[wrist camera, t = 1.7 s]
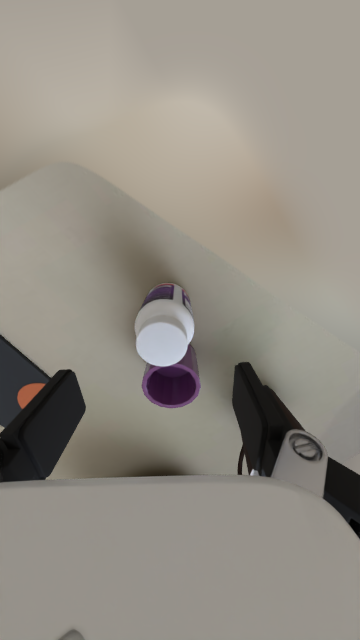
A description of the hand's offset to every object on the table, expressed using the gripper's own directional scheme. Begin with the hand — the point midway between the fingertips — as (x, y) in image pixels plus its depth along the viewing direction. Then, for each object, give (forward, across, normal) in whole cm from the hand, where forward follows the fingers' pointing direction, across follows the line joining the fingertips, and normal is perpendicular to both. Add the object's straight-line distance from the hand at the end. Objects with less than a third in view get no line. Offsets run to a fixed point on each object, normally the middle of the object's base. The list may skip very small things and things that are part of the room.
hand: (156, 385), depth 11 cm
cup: (+14, 0, +7) cm, 15 cm away
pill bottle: (+14, 0, -1) cm, 14 cm away
